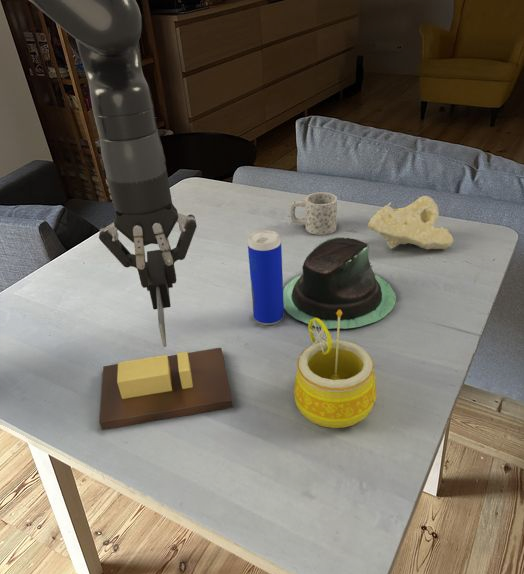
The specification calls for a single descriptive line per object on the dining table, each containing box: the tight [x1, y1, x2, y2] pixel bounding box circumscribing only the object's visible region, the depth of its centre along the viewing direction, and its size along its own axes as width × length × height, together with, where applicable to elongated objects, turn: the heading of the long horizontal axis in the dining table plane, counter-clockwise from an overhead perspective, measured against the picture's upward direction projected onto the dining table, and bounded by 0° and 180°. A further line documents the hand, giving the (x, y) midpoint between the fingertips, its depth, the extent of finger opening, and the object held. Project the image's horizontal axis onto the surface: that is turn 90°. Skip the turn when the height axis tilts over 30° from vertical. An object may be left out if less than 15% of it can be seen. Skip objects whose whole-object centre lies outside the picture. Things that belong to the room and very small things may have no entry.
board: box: [98, 347, 234, 431], centre depth 77 cm, size 18×12×2 cm, turn 101°
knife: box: [146, 249, 171, 348], centre depth 74 cm, size 19×2×4 cm, turn 11°
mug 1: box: [289, 191, 338, 236], centre depth 114 cm, size 10×7×7 cm, turn 77°
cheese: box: [367, 195, 454, 250], centre depth 106 cm, size 15×7×15 cm
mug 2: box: [293, 309, 377, 429], centre depth 70 cm, size 13×11×12 cm
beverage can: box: [247, 229, 285, 326], centre depth 86 cm, size 5×5×15 cm
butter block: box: [117, 354, 172, 399], centre depth 76 cm, size 7×4×3 cm, turn 101°
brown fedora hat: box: [283, 236, 397, 330], centre depth 92 cm, size 15×19×20 cm
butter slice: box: [176, 350, 193, 389], centre depth 76 cm, size 2×4×3 cm, turn 11°
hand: (160, 286), depth 78 cm, fingers closed on knife, 2 cm apart
